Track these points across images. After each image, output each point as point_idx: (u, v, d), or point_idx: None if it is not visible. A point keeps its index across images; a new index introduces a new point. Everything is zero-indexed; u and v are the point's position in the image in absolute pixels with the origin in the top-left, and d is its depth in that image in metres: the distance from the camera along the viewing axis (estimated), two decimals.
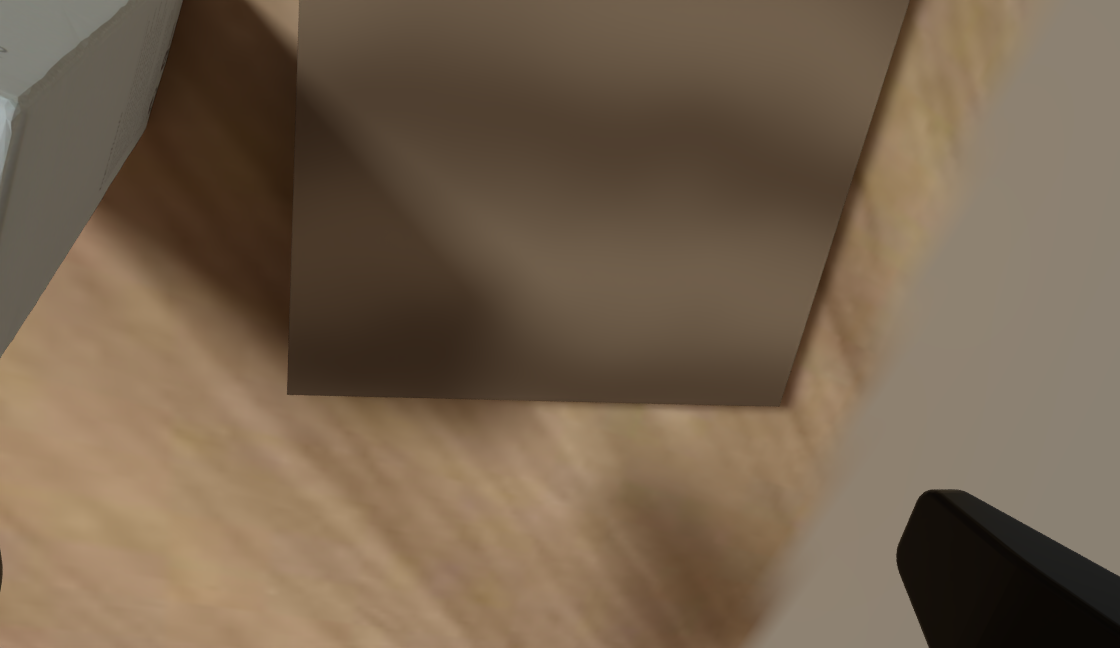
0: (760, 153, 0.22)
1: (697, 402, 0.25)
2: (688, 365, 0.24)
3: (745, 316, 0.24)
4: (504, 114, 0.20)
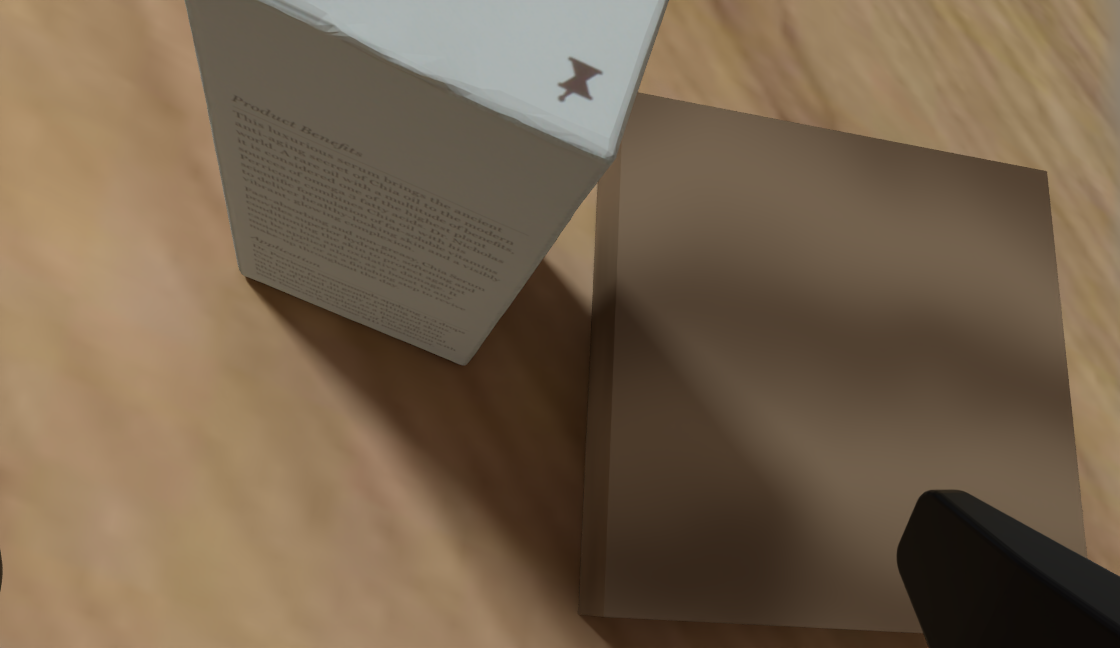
0: (987, 360, 0.25)
1: None
2: None
3: None
4: (778, 320, 0.23)
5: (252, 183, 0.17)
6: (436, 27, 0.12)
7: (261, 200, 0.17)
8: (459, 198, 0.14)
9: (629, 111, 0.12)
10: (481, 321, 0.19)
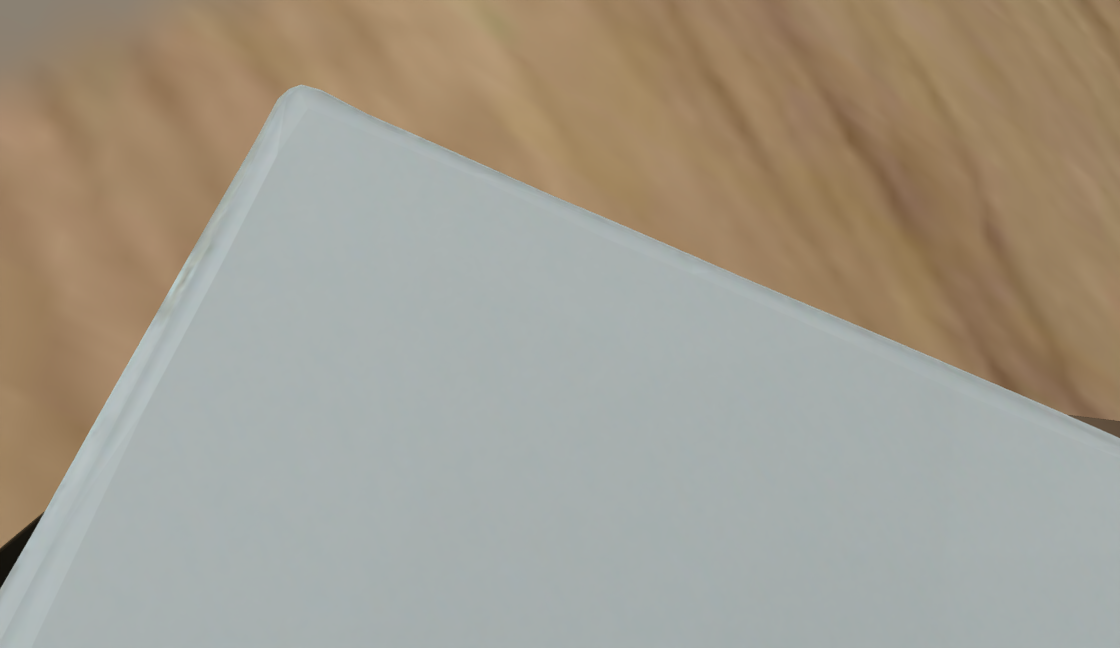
0: None
1: None
2: None
3: None
4: None
5: None
6: None
7: None
8: None
9: None
10: None
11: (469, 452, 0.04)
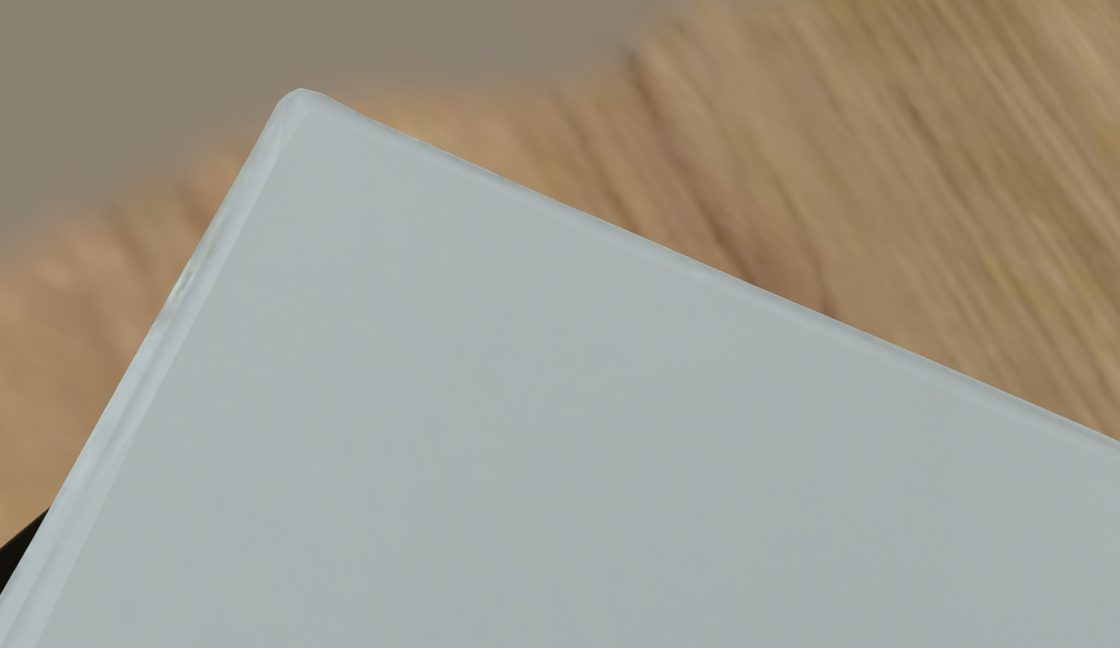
0: None
1: None
2: None
3: None
4: None
5: None
6: None
7: None
8: None
9: None
10: None
11: (469, 459, 0.04)
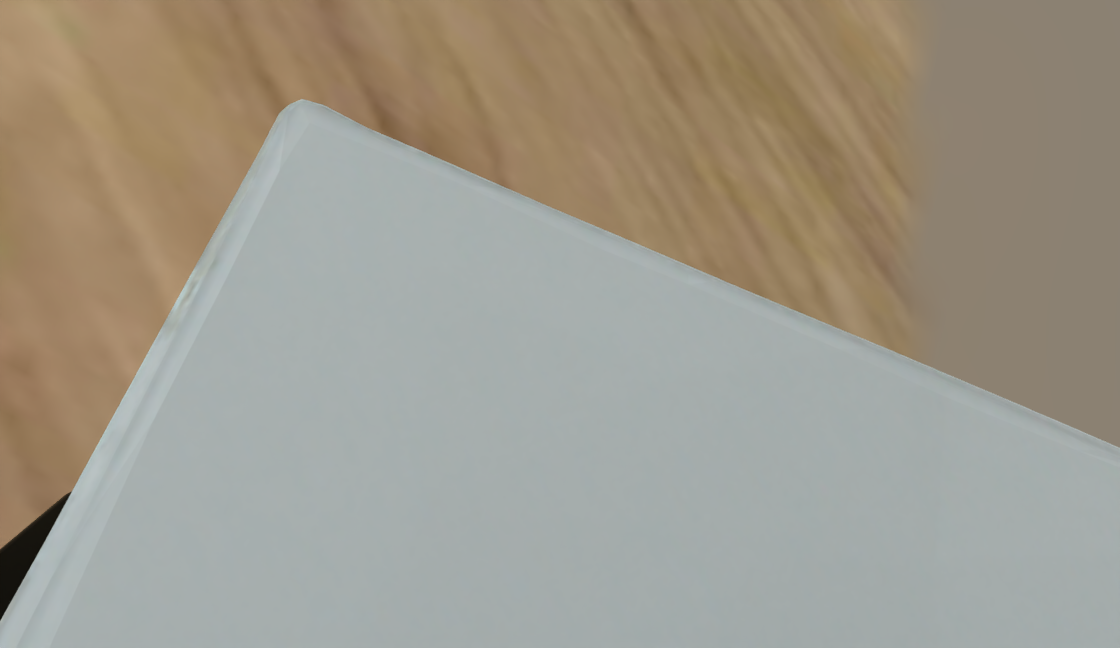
0: None
1: None
2: None
3: None
4: None
5: None
6: None
7: None
8: None
9: None
10: None
11: (471, 464, 0.04)
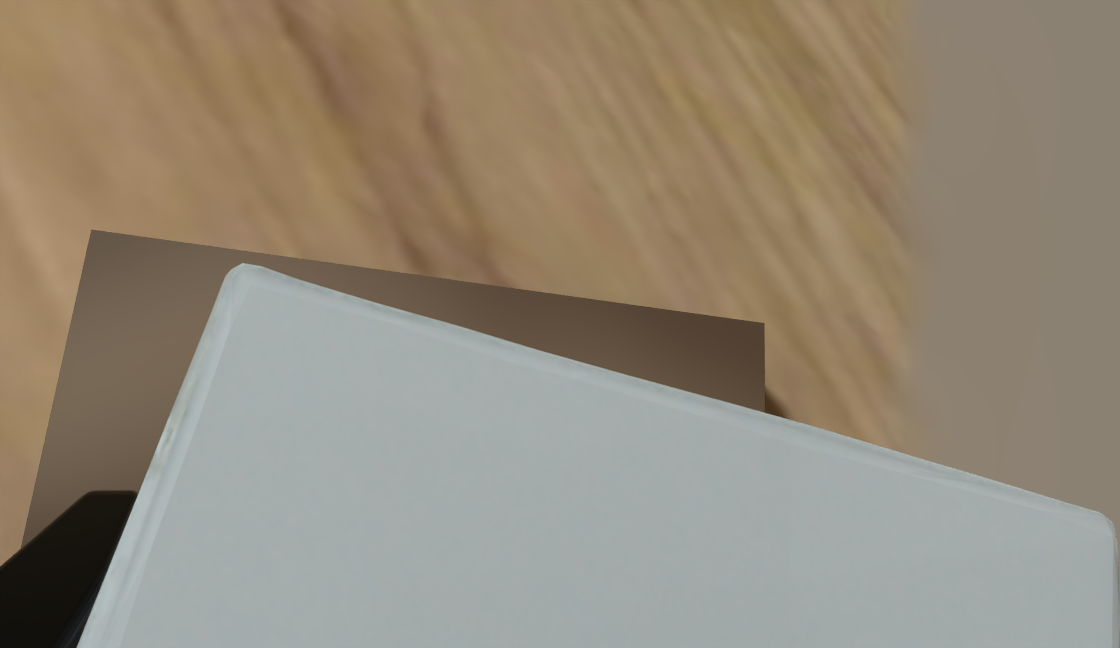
0: None
1: None
2: None
3: None
4: None
5: None
6: None
7: None
8: None
9: None
10: None
11: (408, 549, 0.05)
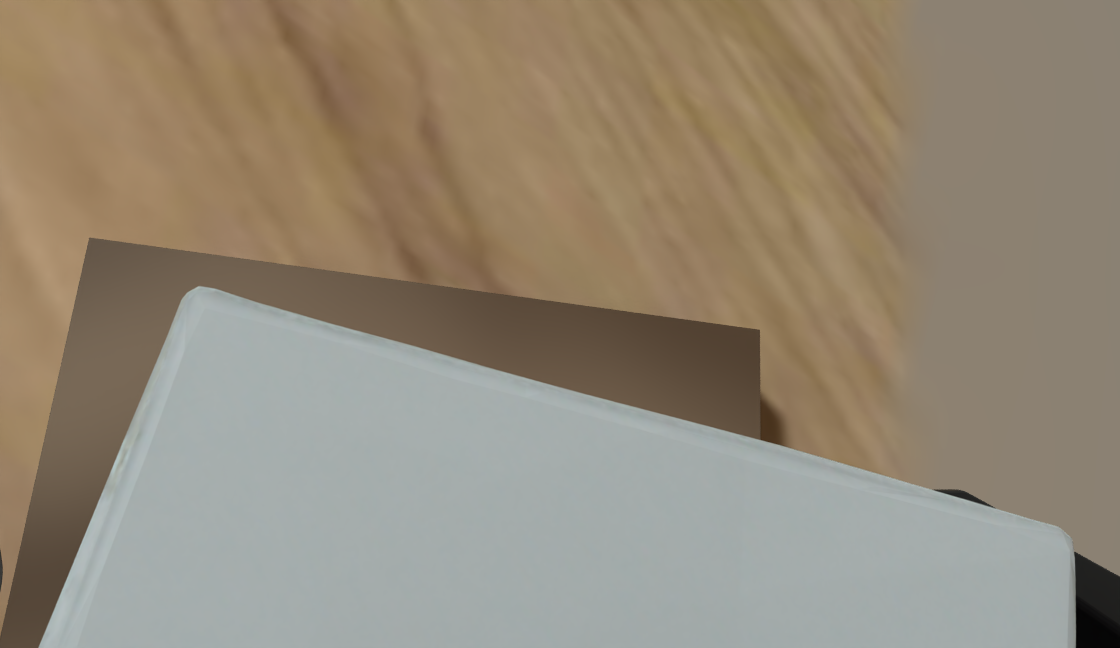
0: None
1: None
2: None
3: None
4: None
5: None
6: None
7: None
8: None
9: None
10: None
11: (357, 568, 0.05)
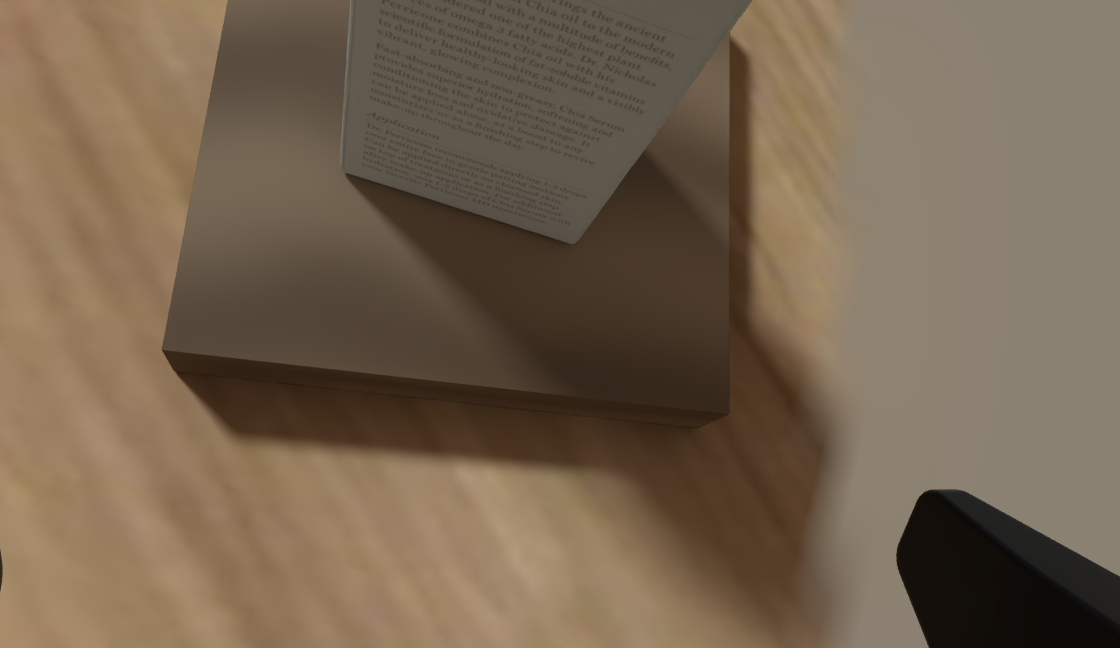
0: None
1: (634, 404, 0.22)
2: (615, 351, 0.22)
3: (664, 298, 0.23)
4: None
5: (387, 36, 0.16)
6: None
7: (391, 58, 0.17)
8: (627, 3, 0.14)
9: None
10: (609, 175, 0.19)
11: None
